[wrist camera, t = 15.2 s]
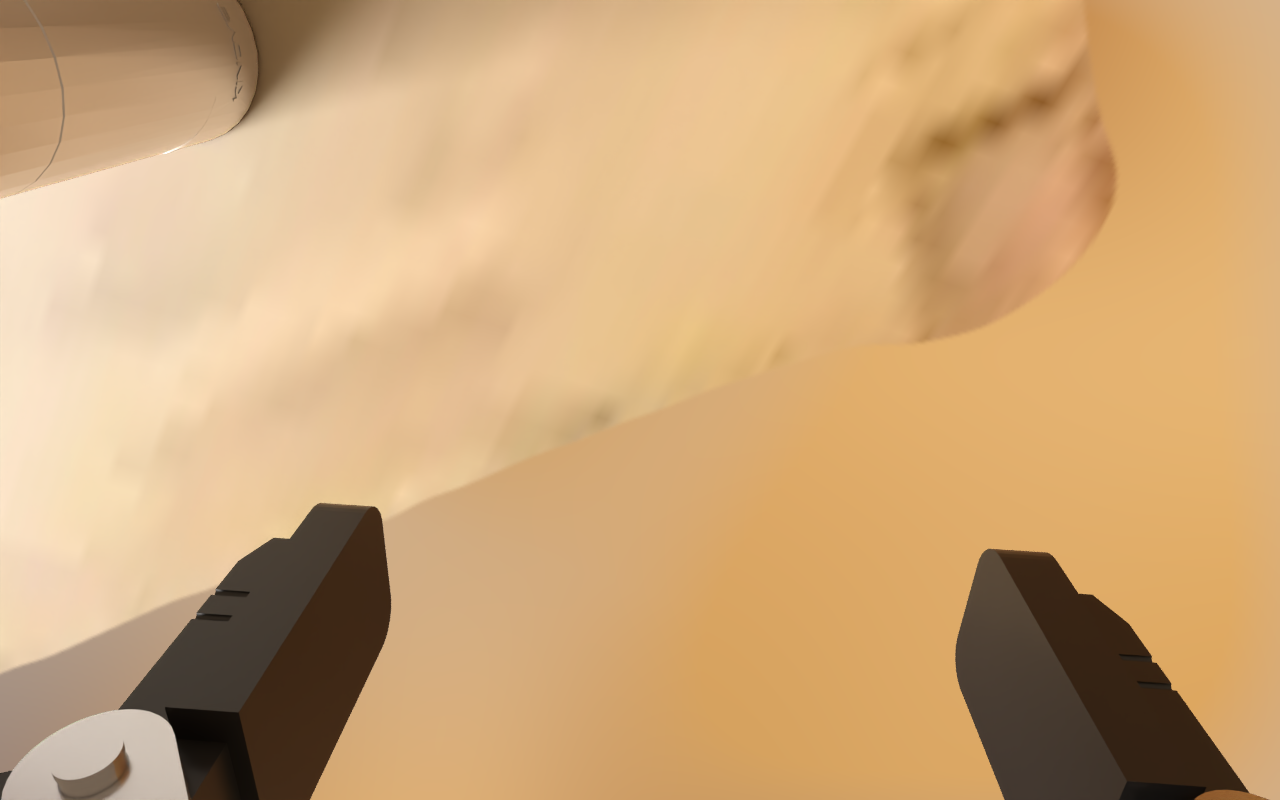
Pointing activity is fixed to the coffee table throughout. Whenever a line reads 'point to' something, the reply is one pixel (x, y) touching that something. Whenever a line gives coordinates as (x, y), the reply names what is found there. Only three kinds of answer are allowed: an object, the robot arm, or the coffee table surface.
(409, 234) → the coffee table surface
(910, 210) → the coffee table surface
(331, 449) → the coffee table surface
